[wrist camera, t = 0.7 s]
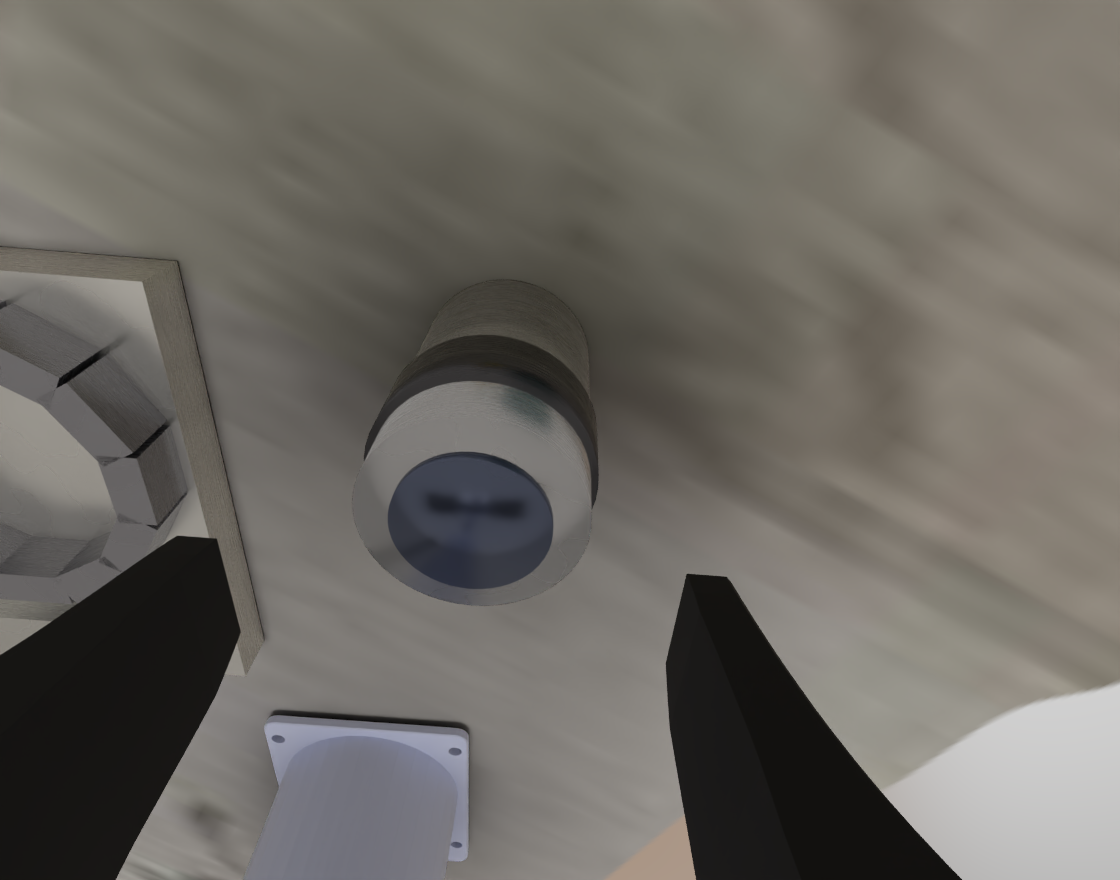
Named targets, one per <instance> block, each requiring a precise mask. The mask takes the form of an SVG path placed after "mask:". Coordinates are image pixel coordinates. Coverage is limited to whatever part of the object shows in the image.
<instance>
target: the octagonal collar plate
mask: <svg viewBox="0 0 1120 880" xmlns="http://www.w3.org/2000/svg"><path fill="white" fill-rule="evenodd" d="M176 536H190V537H203V538H216V539H217V541H218V545H219V549H220V552H221V556H222V560H223V564H224V568H225V572H226V576H227V580H228V584H229V587H230V591H231V595H232V599H233V603H234V607H235V611H236V615H237V619H238V622H239V626H240V630H241V633H240V636H239V639H238V641H237V644H236V646H235V649H234V652H233V654H232V657H231V660H230V662H229V665H228V667H227V670H226V672H225V675H231V676H245V677H246V675H247V673H248V671H249V669H250V667H251V665H252V663H253V661H254V659H255V657H256V655H257V653H258V652H259V650H260V648H261V646H262V644H263V642H264V637H263V633H262V628H261V624H260V619H259V615H258V611H257V606H256V602H255V598H254V593H253V589H252V585H251V580H250V576H249V572H248V567H247V563H246V559H245V554H244V550H243V546H242V541H241V537H240V533H239V528H238V524H237V520H236V515H235V511H234V507H233V502H232V498H231V493H230V489H229V485H228V480H227V476H226V472H225V467H224V463H223V459H222V454H221V450H220V446H219V441H218V437H217V433H216V428H215V424H214V420H213V415H212V411H211V407H210V402H209V398H208V394H207V389H206V385H205V381H204V376H203V372H202V367H201V363H200V359H199V354H198V350H197V346H196V341H195V337H194V333H193V328H192V324H191V320H190V315H189V311H188V307H187V302H186V298H185V294H184V289H183V285H182V281H181V276H180V272H179V268H178V263H177V261H170V260H157V259H145V258H132V257H120V256H107V255H95V254H82V253H70V252H58V251H45V250H33V249H20V248H8V247H0V655H1V654H3V653H4V652H6V651H7V650H9V649H10V648H12V647H14V646H15V645H17V644H18V643H20V642H21V641H23V640H25V639H26V638H28V637H29V636H31V635H32V634H34V633H35V632H37V631H38V630H40V629H41V628H43V627H44V626H46V625H47V624H48V623H50V622H51V621H53V620H54V619H56V618H57V617H59V616H60V615H62V614H63V613H65V612H66V611H67V610H69V609H70V608H72V607H73V606H75V605H76V604H78V603H79V602H81V601H82V600H84V599H85V598H86V597H88V596H89V595H91V594H92V593H94V592H95V591H97V590H98V589H99V588H101V587H102V586H104V585H105V584H107V583H108V582H109V581H111V580H112V579H114V578H115V577H117V576H118V575H119V574H121V573H122V572H124V571H125V570H127V569H128V568H129V567H131V566H132V565H134V564H135V563H137V562H138V561H140V560H141V559H142V558H144V557H145V556H147V555H148V554H150V553H151V552H153V551H154V550H156V549H157V548H159V547H160V546H162V545H163V544H165V543H166V542H168V541H169V540H171V539H172V538H174V537H176Z"/></svg>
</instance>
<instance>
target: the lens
mask: <svg viewBox="0 0 1120 880" xmlns="http://www.w3.org/2000/svg"><path fill="white" fill-rule="evenodd" d="M598 476H599V474H598V445H597V425H596V417H595V413H594V409H593V405H592V403H591V401H590V394H589V352H588V344H587V341H586V337H585V334H584V331H583V329H582V327H581V325H580V323H579V321H578V320H577V318H576V316H575V315H574V314H573V313H572V311H571V310H570V309H569V308H568V307H567V306H566V305H565V304H564V303H563V302H562V301H561V300H560V299H558V298H557V297H556V296H554V295H553V294H551V293H550V292H548V291H546V290H544V289H542V288H540V287H538V286H535V285H533V284H529V283H526V282H522V281H515V280H492V281H486V282H482V283H478V284H475V285H473V286H470V287H468V288H466V289H464V290H462V291H461V292H459V293H457V294H456V295H455V296H454V297H452V298H451V299H450V300H449V301H448V302H447V303H446V304H445V305H444V306H443V307H442V309H441V310H440V311H439V313H438V314H437V316H436V318H435V320H434V322H433V324H432V326H431V328H430V330H429V332H428V334H427V336H426V338H425V340H424V342H423V344H422V346H421V348H420V350H419V352H418V354H417V356H416V358H415V359H414V360H413V361H412V362H411V363H410V364H409V365H408V366H407V367H406V368H405V369H404V370H403V372H402V373H401V374H400V376H399V377H398V378H397V380H396V382H395V384H394V386H393V388H392V390H391V392H390V394H389V396H388V398H387V400H386V402H385V404H384V406H383V408H382V409H381V411H380V413H379V415H378V417H377V419H376V421H375V423H374V425H373V427H372V429H371V431H370V433H369V436H368V439H367V442H366V446H365V453H364V463H363V465H362V467H361V469H360V471H359V473H358V476H357V479H356V482H355V485H354V491H353V498H352V501H353V514H354V520H355V524H356V527H357V530H358V532H359V535H360V537H361V539H362V541H363V543H364V544H365V546H366V548H367V549H368V551H369V552H370V553H371V555H372V556H373V557H374V558H375V560H376V561H377V562H378V563H379V564H380V565H381V566H382V567H383V568H384V569H385V570H386V571H388V572H389V573H390V574H391V575H392V576H394V577H395V578H396V579H398V580H399V581H401V582H402V583H404V584H405V585H407V586H409V587H411V588H413V589H415V590H416V591H419V592H421V593H423V594H426V595H428V596H431V597H434V598H437V599H440V600H443V601H448V602H453V603H457V604H465V605H479V606H489V605H501V604H507V603H513V602H517V601H521V600H524V599H528V598H530V597H533V596H535V595H538V594H540V593H542V592H544V591H546V590H548V589H549V588H551V587H553V586H554V585H555V584H557V583H558V582H560V581H561V580H562V579H563V578H564V577H565V576H567V575H568V574H569V573H570V572H571V571H572V569H573V568H574V567H575V566H576V564H577V563H578V562H579V560H580V558H581V557H582V555H583V553H584V551H585V549H586V546H587V544H588V541H589V537H590V532H591V522H592V508H593V505H594V503H595V500H596V495H597V490H598Z"/></svg>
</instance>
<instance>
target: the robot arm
mask: <svg viewBox="0 0 1120 880" xmlns="http://www.w3.org/2000/svg"><path fill="white" fill-rule="evenodd" d="M240 633H241V630H240V626H239V622H238V619H237V615H236V611H235V607H234V603H233V599H232V595H231V591H230V587H229V584H228V580H227V576H226V572H225V568H224V564H223V560H222V556H221V552H220V549H219V545H218V541H217V539H216V538H203V537H190V536H176V537H174V538H172V539H171V540H169V541H168V542H166V543H165V544H163V545H162V546H160V547H159V548H157V549H156V550H154V551H153V552H151V553H150V554H148V555H147V556H145V557H144V558H142V559H141V560H140V561H138V562H137V563H135V564H134V565H132V566H131V567H129V568H128V569H127V570H125V571H124V572H122V573H121V574H119V575H118V576H117V577H115V578H114V579H112V580H111V581H109V582H108V583H107V584H105V585H104V586H102V587H101V588H99V589H98V590H97V591H95V592H94V593H92V594H91V595H89V596H88V597H86V598H85V599H84V600H82V601H81V602H79V603H78V604H76V605H75V606H73V607H72V608H70V609H69V610H67V611H66V612H65V613H63V614H62V615H60V616H59V617H57V618H56V619H54V620H53V621H51V622H50V623H48V624H47V625H46V626H44V627H43V628H41V629H40V630H38V631H37V632H35V633H34V634H32V635H31V636H29V637H28V638H26V639H25V640H23V641H21V642H20V643H18V644H17V645H15V646H14V647H12V648H10V649H9V650H7V651H6V652H4V653H3V654H1V655H0V880H116V878H117V876H118V874H119V872H120V870H121V868H122V866H123V864H124V862H125V860H126V858H127V856H128V854H129V852H130V850H131V848H132V846H133V844H134V842H135V841H136V839H137V837H138V835H139V833H140V832H141V830H142V828H143V826H144V824H145V823H146V821H147V819H148V817H149V815H150V814H151V812H152V810H153V808H154V806H155V805H156V803H157V801H158V799H159V798H160V796H161V794H162V792H163V790H164V789H165V787H166V785H167V783H168V781H169V780H170V778H171V776H172V774H173V772H174V771H175V769H176V767H177V765H178V763H179V762H180V760H181V758H182V756H183V755H184V753H185V751H186V749H187V747H188V746H189V744H190V742H191V740H192V738H193V736H194V735H195V733H196V731H197V729H198V727H199V725H200V724H201V722H202V720H203V718H204V716H205V714H206V713H207V711H208V709H209V707H210V705H211V703H212V701H213V700H214V698H215V696H216V694H217V691H218V689H219V686H220V684H221V682H222V679H223V677H224V675H225V672H226V670H227V667H228V665H229V662H230V660H231V657H232V654H233V652H234V649H235V646H236V644H237V641H238V639H239V636H240ZM666 674H667V693H668V708H669V723H670V732H671V738H672V744H673V750H674V755H675V761H676V767H677V773H678V779H679V785H680V790H681V796H682V802H683V807H684V813H685V819H686V824H687V830H688V836H689V840H690V846H691V853H692V858H693V864H694V869H695V875H696V880H962V879H961V878H960V877H959V876H958V875H957V874H956V873H955V872H954V871H953V870H952V869H951V868H950V867H949V866H948V865H947V864H946V863H945V862H944V861H943V859H941V857H940V856H939V855H938V854H937V853H936V852H935V851H934V850H933V849H932V848H931V847H930V846H929V845H928V843H927V842H925V840H924V839H923V838H922V837H921V836H920V835H919V834H918V833H917V832H916V831H915V830H914V828H913V827H912V826H911V825H910V824H909V823H908V822H907V821H906V819H905V818H904V817H903V816H902V815H901V814H900V813H899V812H898V810H897V809H896V808H895V807H894V806H893V805H892V804H891V803H890V802H889V800H888V799H887V798H886V797H885V796H884V795H883V793H882V792H881V791H880V790H879V789H878V787H877V786H876V785H875V784H874V783H873V782H872V780H871V779H870V778H869V777H868V776H867V774H866V773H865V772H864V771H863V769H862V768H861V767H860V766H859V765H858V763H857V762H856V761H855V760H854V758H853V757H852V756H851V755H850V753H849V752H848V751H847V750H846V748H845V747H844V746H843V744H842V743H841V742H840V741H839V739H838V738H837V737H836V736H835V734H834V733H833V732H832V730H831V729H830V728H829V727H828V725H827V724H826V723H825V721H824V720H823V719H822V717H821V716H820V715H819V713H818V712H817V711H816V709H815V708H814V707H813V705H812V704H811V702H810V701H809V700H808V698H807V697H806V695H805V694H804V692H803V691H802V690H801V688H800V687H799V685H798V684H797V683H796V681H795V680H794V678H793V677H792V676H791V674H790V673H789V671H788V670H787V669H786V667H785V666H784V664H783V663H782V661H781V660H780V658H779V657H778V655H777V654H776V652H775V651H774V649H773V648H772V646H771V645H770V643H769V642H768V640H767V639H766V637H765V636H764V634H763V633H762V631H761V630H760V628H759V626H758V625H757V623H756V622H755V620H754V619H753V617H752V615H751V614H750V612H749V611H748V609H747V607H746V606H745V604H744V603H743V601H742V599H741V598H740V596H739V594H738V593H737V591H736V590H735V588H734V586H733V585H732V583H731V582H730V581H729V579H728V578H727V577H722V576H709V575H696V574H687V575H686V579H685V583H684V588H683V592H682V596H681V601H680V605H679V609H678V613H677V618H676V622H675V626H674V631H673V635H672V639H671V644H670V648H669V652H668V656H667V661H666ZM264 731H265V735H266V739H267V743H268V747H269V751H270V754H271V758H272V762H273V766H274V770H275V774H276V778H277V782H278V786H279V789H278V792H277V794H276V797H275V799H274V802H273V804H272V807H271V809H270V812H269V814H268V817H267V819H266V822H265V824H264V827H263V829H262V832H261V835H260V837H259V840H258V842H257V845H256V847H255V850H254V852H253V855H252V857H251V860H250V862H249V865H248V867H247V870H246V872H245V875H244V877H243V880H445V874H446V868H447V862H448V861H456V862H458V861H464V860H465V859H466V858H467V857H468V850H469V736H468V733H467V732H466V731H464V730H462V729H460V728H451V727H437V726H423V725H409V724H395V723H381V722H367V721H353V720H338V719H324V718H310V717H296V716H282V715H274V716H271V717H269V718H268V719H267V721H266V724H265V726H264Z"/></svg>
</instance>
